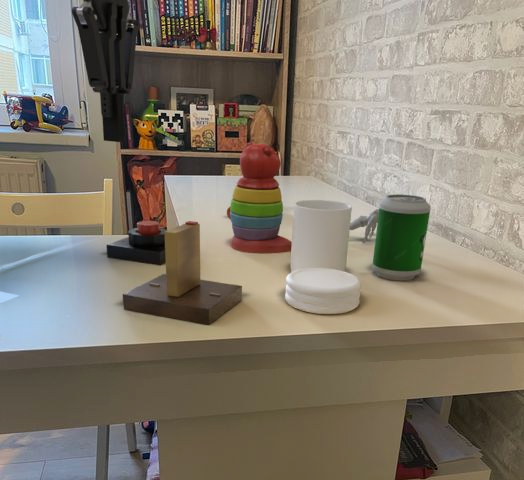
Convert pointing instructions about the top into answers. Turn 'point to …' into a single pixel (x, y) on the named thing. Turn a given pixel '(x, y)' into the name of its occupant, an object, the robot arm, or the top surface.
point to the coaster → (322, 290)
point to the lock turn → (182, 258)
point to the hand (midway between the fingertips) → (114, 140)
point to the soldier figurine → (366, 223)
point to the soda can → (400, 236)
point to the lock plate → (183, 300)
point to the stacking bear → (258, 203)
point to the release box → (139, 248)
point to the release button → (148, 227)
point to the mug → (320, 234)
